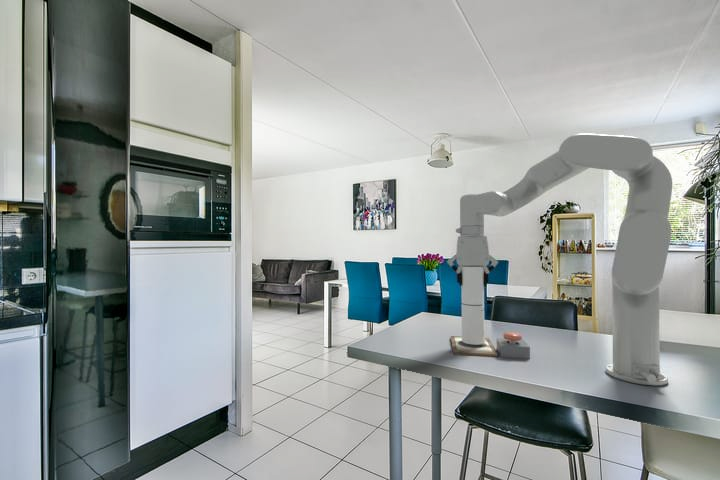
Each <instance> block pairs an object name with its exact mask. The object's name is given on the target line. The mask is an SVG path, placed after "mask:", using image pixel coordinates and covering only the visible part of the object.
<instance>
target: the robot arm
mask: <svg viewBox="0 0 720 480" xmlns="http://www.w3.org/2000/svg"><path fill="white" fill-rule="evenodd" d="M653 153H654V151H653V147H652V146H651V145H650V143H649V142H648V141H647V140H645V139H643V138H640V137H637V136H629V135H628V136H627V135H625V136H624V135H613V134H609V135H608V134H599V133H598V134H596V133H578V134H577V133H576V134H573V135H571V136H568V137H567V138H565V139H564V140H563V141H562V142H561V144H560V146H559V148H558V150H557V151H556V152H554V153H553V154H551V155H549V156H547V157H545V158H544V159H543V160H540V161H539V162H538V163H535V164H534V165H533V166H530V167H529V169H528V170H527V172H525V175H524V176H523V177H522V178H521V180H520V181H519V182H518V183H516V184H515V185H513V186H511V187H510V188H508V189H507V190H505V191H503V192H499V191H491V190H490V191H486V192H482V193H477V194H476V193H472V194H471V193H469V194H464V195H462V196H461V197H460V199H459V226H460V227H458V228H455V233H456V234H460V235H459V236H457V239H456V240H457V242H456V251H455V252H456V253H455V255H453V256H452V257H451V258H449V259H448V260H447V261H446V263H447V264H448V265H449V266H450V267H451V268H452V270H453V271H454V272H455V273H456V283H458V285H459V286H461V285H462V274H461V270H462V267H463V266H482V267H483V269H484V287H487V284H489V274H490V272H492V271H493V270H494V269H495V268H496V266H497V265H498V263H499V261H498V260H497V259H496V258H494V257H493V256H492V255H491V254H490V252H489V251H490V249H489V241H488V237H487V235H485V224H484V223H485V221H484V220H485V215H487V216H494V217H495V216H496V217H506V216H508V215H511V214H512V213H514V212H516V211H518V210H519V209H521V208H523V207H525V206H527V205H528V204H530V203H531V202H533V201H534V200H536V199H538V198H539V197H542V195H544V194H545V193H546V192H548V191H549V190H551V189H553V188H555V187H557V186H558V185H561V184H563V183H565V182H566V181H568V180H570V179H573V178H574V177H576V176H577V175H579V174H581V173H583V172H585V171H586V170H588V169H596V170H603V171H604V170H605V171H612V172H613V173H614V174H615V175H617V176H618V177H620V178H622V179H624V180H625V181H626V182H627V184H628V188H629V189H628V194H627V195H628V196H627V200H626V201H627V202H626V207H625V208H626V209H625V212H624V218H623V219H622V221H621V223H620V225H619V231H618V234H617V235H618V237H617V240H616V241H617V242H616V247H615V252H614V258H613V262H612V268H611V282H612V284H611V285H612V288H611V289H612V292H611V293H612V296H611V297H612V303H611V304H612V314H611V315H612V363H609V364H607V365H606V366H605V372H606V373H607V374H608V375H610V376H611V377H614V378H616V379H618V380H621V381H623V382H628V383H633V384H637V385H644V386H656V387H657V386H659V387H660V386H665V385H667V384H668V383H669V377H668V376H667V375H666V374H664V373H663V372H661V364H660V363H661V362H660V359H661V353H660V348H661V347H660V318H661V317H660V315H661V314H660V311H661V310H660V288H659V287H660V285H661V283H662V281H663V278H664V273H665V268H666V264H667V259H668V254H669V248H670V243H671V239H672V226H671V223H670V221H669V213H670V212H669V211H670V207H671V199H672V193H673V192H672V191H673V178H672V175H671V172H670V170H669V169H668V167H667V166H666V164H665V162H663V161H662V160H661V159H659V158H658V157H656V156H654V154H653ZM455 260H456V264H457V266H456V265H455V264H454V262H455ZM490 261H491V263H490ZM489 263H490V265H489ZM487 266H488V267H487Z"/></svg>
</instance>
